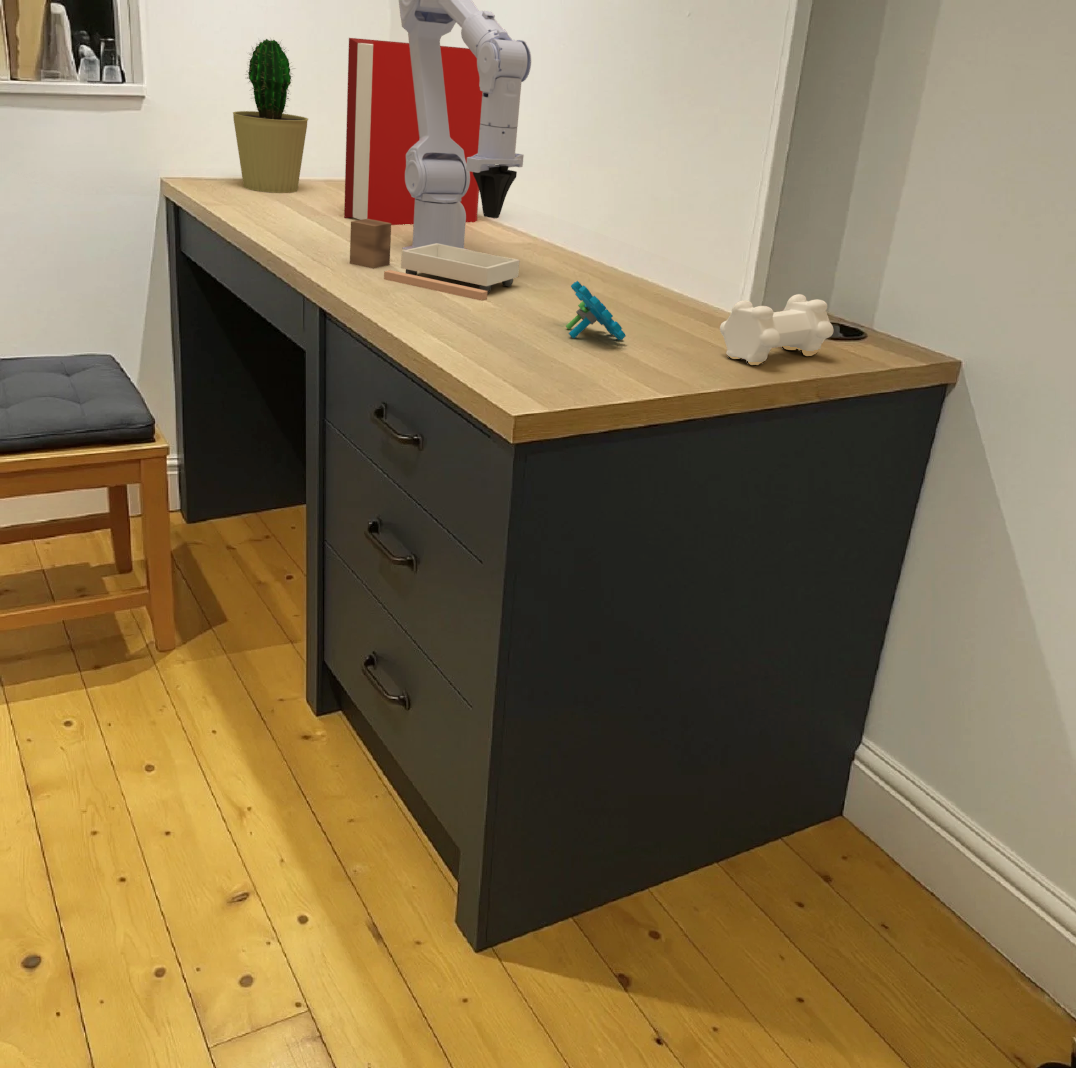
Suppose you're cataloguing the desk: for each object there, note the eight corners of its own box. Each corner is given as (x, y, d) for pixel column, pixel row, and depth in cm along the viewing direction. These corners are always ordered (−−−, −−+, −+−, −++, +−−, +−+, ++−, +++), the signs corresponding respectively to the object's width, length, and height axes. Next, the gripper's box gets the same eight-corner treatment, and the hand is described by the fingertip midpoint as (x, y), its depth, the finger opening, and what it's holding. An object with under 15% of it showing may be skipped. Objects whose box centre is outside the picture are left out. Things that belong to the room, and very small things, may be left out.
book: (367, 226, 209) (373, 41, 195) (344, 218, 214) (348, 37, 201) (480, 221, 226) (493, 51, 212) (456, 214, 231) (467, 48, 218)
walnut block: (366, 262, 179) (367, 218, 176) (389, 267, 177) (391, 223, 174) (349, 266, 175) (350, 221, 172) (373, 271, 173) (374, 226, 170)
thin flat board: (460, 262, 186) (460, 253, 185) (550, 281, 179) (551, 271, 179) (383, 281, 167) (384, 271, 166) (481, 303, 161) (482, 292, 160)
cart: (435, 268, 177) (436, 243, 176) (517, 285, 172) (519, 259, 170) (400, 277, 169) (401, 250, 167) (485, 295, 163) (487, 268, 162)
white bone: (782, 348, 157) (789, 290, 154) (833, 359, 151) (841, 299, 148) (713, 359, 148) (718, 298, 145) (764, 371, 142) (771, 307, 139)
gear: (637, 338, 145) (590, 280, 141) (604, 369, 145) (555, 312, 141) (614, 327, 155) (569, 273, 152) (583, 356, 155) (537, 303, 152)
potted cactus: (322, 193, 238) (324, 41, 226) (260, 195, 228) (259, 36, 215) (280, 181, 248) (280, 35, 235) (219, 183, 237) (216, 30, 225)
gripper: (498, 130, 161) (490, 226, 166) (543, 127, 173) (534, 216, 178) (457, 124, 163) (450, 218, 169) (504, 121, 175) (496, 209, 181)
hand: (491, 217), depth 174 cm, fingers closed
